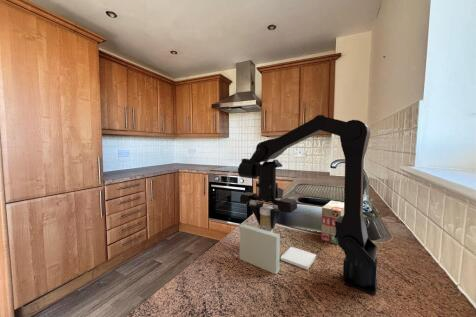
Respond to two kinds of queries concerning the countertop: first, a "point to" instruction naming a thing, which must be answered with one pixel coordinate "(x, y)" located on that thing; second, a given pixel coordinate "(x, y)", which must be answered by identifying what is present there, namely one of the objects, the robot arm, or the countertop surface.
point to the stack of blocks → (331, 220)
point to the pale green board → (260, 248)
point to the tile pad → (298, 257)
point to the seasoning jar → (265, 218)
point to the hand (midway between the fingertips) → (266, 226)
